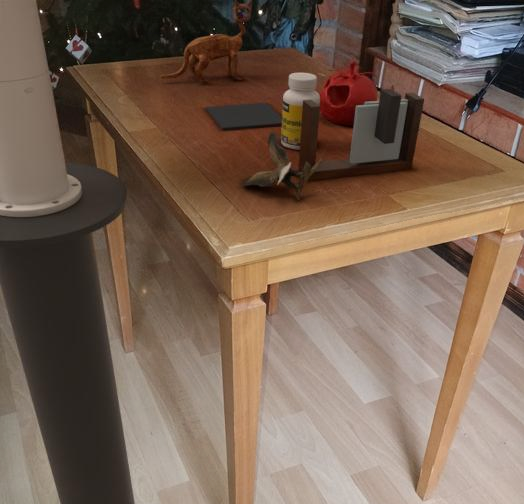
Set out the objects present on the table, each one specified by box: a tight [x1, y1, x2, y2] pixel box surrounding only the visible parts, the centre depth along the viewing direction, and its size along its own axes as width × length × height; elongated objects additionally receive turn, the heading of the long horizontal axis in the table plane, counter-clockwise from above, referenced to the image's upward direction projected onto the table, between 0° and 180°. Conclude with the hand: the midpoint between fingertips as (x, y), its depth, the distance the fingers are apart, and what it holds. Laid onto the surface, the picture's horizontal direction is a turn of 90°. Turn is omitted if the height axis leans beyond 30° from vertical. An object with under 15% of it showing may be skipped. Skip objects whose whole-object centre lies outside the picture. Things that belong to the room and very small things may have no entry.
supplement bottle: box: [280, 72, 320, 151], centre depth 90 cm, size 5×5×10 cm
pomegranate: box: [318, 59, 378, 126], centre depth 100 cm, size 10×10×9 cm
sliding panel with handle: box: [349, 88, 408, 164], centre depth 81 cm, size 7×4×10 cm, turn 108°
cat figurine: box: [160, 0, 253, 83], centre depth 115 cm, size 18×7×14 cm, turn 111°
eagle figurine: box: [243, 131, 323, 201], centre depth 78 cm, size 8×7×9 cm
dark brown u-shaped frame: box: [297, 92, 425, 182], centre depth 83 cm, size 16×3×10 cm, turn 108°
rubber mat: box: [205, 102, 282, 131], centre depth 103 cm, size 11×11×1 cm
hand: (352, 2), depth 76 cm, fingers open, 9 cm apart
